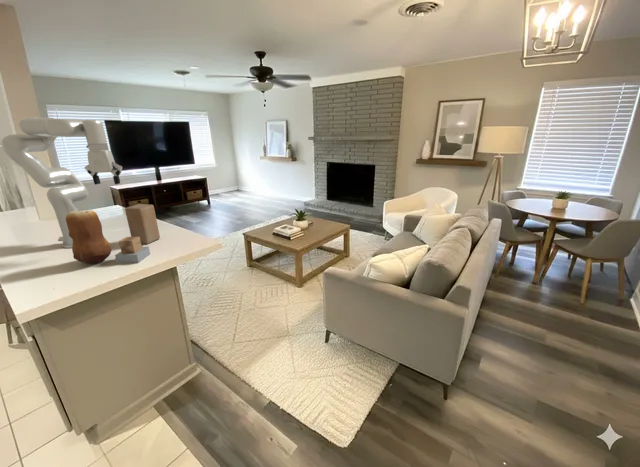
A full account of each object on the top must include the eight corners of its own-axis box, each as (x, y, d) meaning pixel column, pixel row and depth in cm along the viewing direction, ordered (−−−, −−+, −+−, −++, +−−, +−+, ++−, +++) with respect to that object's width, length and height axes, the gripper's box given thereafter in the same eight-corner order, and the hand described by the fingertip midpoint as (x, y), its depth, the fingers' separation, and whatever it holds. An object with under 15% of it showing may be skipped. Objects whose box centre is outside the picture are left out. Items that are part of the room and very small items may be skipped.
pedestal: (116, 263, 133) (114, 255, 131) (130, 254, 142) (128, 247, 141) (138, 262, 133) (136, 254, 132) (150, 254, 142) (148, 246, 141)
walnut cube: (121, 253, 133) (118, 241, 131) (129, 248, 139) (126, 236, 137) (134, 253, 134) (131, 241, 132) (142, 248, 139) (139, 236, 137)
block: (147, 244, 155) (139, 208, 148) (132, 243, 156) (123, 208, 150) (161, 238, 164) (154, 204, 157) (146, 237, 166) (138, 203, 159)
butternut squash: (104, 254, 143) (91, 205, 135) (119, 259, 137) (105, 208, 128) (71, 264, 132) (54, 211, 123) (85, 271, 125) (67, 215, 117)
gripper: (73, 148, 132) (84, 185, 138) (111, 148, 132) (120, 185, 138) (86, 147, 139) (95, 182, 145) (122, 147, 139) (130, 182, 145)
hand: (107, 183), depth 141 cm, fingers open, 9 cm apart
